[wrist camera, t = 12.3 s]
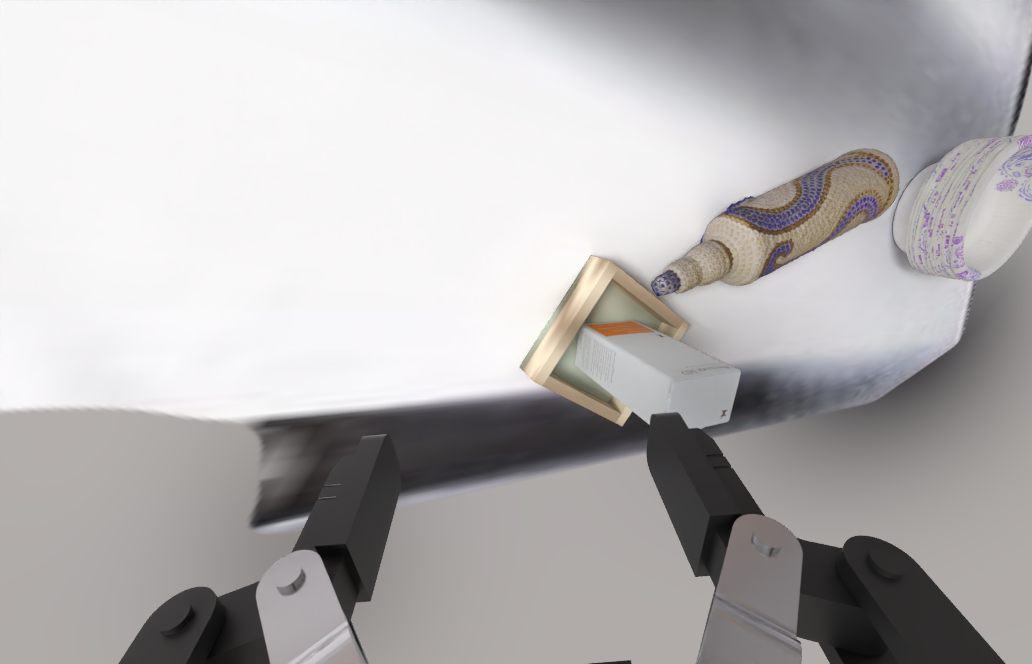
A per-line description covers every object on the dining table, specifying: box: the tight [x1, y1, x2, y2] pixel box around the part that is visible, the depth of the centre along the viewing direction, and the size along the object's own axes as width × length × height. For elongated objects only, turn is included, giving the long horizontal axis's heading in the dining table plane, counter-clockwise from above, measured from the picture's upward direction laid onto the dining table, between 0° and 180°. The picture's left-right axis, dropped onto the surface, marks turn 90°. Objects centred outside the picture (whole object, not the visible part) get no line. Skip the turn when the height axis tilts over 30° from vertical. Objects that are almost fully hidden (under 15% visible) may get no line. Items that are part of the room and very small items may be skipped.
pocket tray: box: [520, 256, 690, 426], centre depth 36 cm, size 12×12×3 cm
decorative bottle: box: [651, 149, 899, 296], centre depth 37 cm, size 26×8×7 cm, turn 109°
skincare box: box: [575, 320, 741, 429], centre depth 32 cm, size 6×4×12 cm
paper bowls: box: [893, 135, 1032, 281], centre depth 46 cm, size 15×15×8 cm
